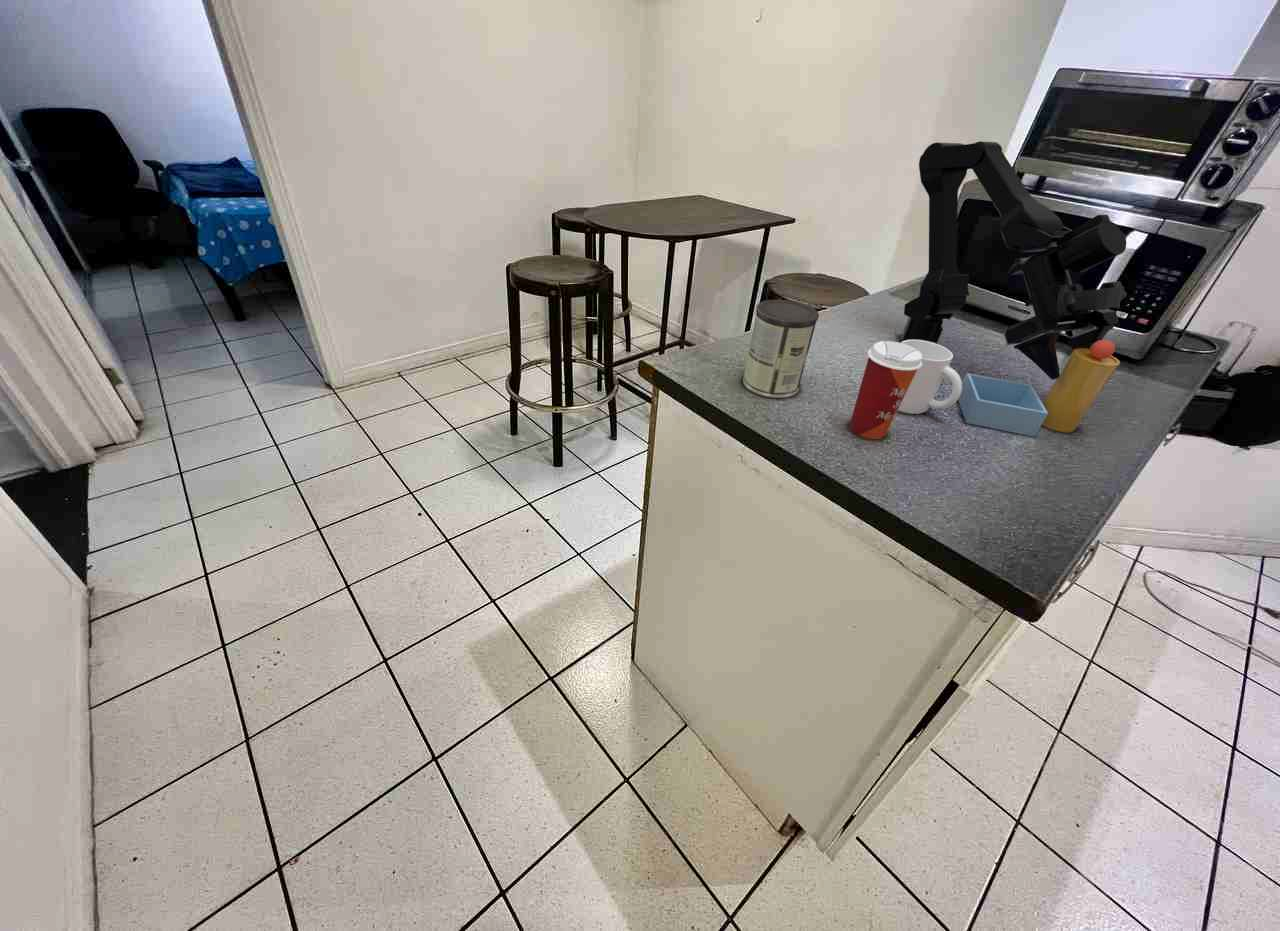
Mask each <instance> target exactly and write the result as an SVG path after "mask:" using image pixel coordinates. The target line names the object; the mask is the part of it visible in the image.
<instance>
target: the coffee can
mask: <svg viewBox="0 0 1280 931" xmlns="http://www.w3.org/2000/svg"><path fill="white" fill-rule="evenodd" d="M819 316H820V314H819V312H818V311H817V310H816V309H815V308H813V307H812V306H810V305H808V304H805V303H802V302H798V301H794V300H787V299H768V300H763V301H761V302H759V303H757V305H756V308H755V316H754V321H753V327H752V333H751V336H750V342H749V343H750V344H749V349H748V355H747V360H746V364H745V369H744V374H743V378H742V383H743V385H744V386H745V388H746V389H748V390H749V391H750V392H752V393H755V394H756V395H759V396H763V397H766V398H771V399H772V398H773V399H784V398H785V399H786V398H790V397H792V396H795V395H796V394H797V393H798V392H799V390H800V384H801V380H802V377H803V373H804V370H805V365H806V361H807V358H808V354H809V352H810V351H809V350H810V348H811V347H810V346H811V343H812V339H813V336H814V332H815V328H816V325H817V322H818V319H819Z"/></svg>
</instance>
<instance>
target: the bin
mask: <svg viewBox="0 0 1280 931" xmlns="http://www.w3.org/2000/svg"><path fill="white" fill-rule="evenodd" d="M957 401H958V404H959V406H960V410H961V413H962V415H963V418H964V421H965V424H970V425H974V426H978V427H985V428H990V429H995V430H999V431H1003V432H1004V431H1006V432H1010V433H1014V434H1015V433H1016V434H1018V435H1019V434H1020V435H1025V436H1029V437H1035V436H1036V434H1037V433H1038V431H1039V429H1040V428H1041V426H1043V425H1042V423H1043V421H1044V420H1045V418H1046V416H1047V415H1048V412H1047V410H1046V409H1045V407H1044V405H1043V404H1042V402H1043V401H1042V400H1041V398H1040V397H1039V395H1038V393H1037V392H1036V390H1035V388H1034V386H1033V385H1032V384H1028V383H1023V382H1018V381H1012V380H1007V379H1001V378H995V377H990V376H986V375H979V374H974V373H966V375H965V377H964V379H963V380H962V391H961V394H960V397H959V398H958V400H957Z"/></svg>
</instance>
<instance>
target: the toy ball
mask: <svg viewBox="0 0 1280 931" xmlns="http://www.w3.org/2000/svg"><path fill="white" fill-rule="evenodd" d="M1115 350H1116V345H1115V344H1114V342H1113V341H1111V340H1109V339H1103V340H1099V341H1097V342H1095V343H1094V344H1092V346H1091V347H1090V354H1091V356H1092V357H1094V358H1096V359H1105V358H1108V357H1110V356H1113V354H1114V352H1115Z"/></svg>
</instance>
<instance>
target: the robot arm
mask: <svg viewBox="0 0 1280 931" xmlns="http://www.w3.org/2000/svg"><path fill="white" fill-rule="evenodd" d="M968 170H972V171H973V173H974V175H975V176H976V178H977V180H978V181H979V183H980V184H981V186H982V187H983V189H984V191H985V192H986V194H987V195H988V197H989V199H990V200H991V202H992V203H993V206H994V207H995V208H996V210H997V212H998V213H999V217H1000V220H1001V221H1000V222H1001V223H1000V233H1001V235H1002V238H1003V240H1004V244H1005V246H1006V248H1007V249H1008V250H1009V251H1010V252H1013V253H1034V252H1035V254H1032V255H1030V256H1029V257H1027V258H1026V257H1017V258H1016V259H1015V261H1014V263H1013V264H1012V266H1011V267H1010V269H1009V271H1008V272H1007V274H1008V275H1009V276H1014V275H1015V276H1016V275H1023V279H1024V283H1025V286H1026V289H1027V292H1028V296H1029V298H1028V299H1026V300H1024V305H1025V307H1026V308H1027V307H1032V310H1033V314H1034V316H1031V317H1029V318H1027V319H1024V320H1021V321H1020V322H1018V323H1015V324H1012V325H1011V326H1008V327H1007V328H1006V331H1005V333H1004V339H1005V342H1006V346H1010V345H1011V346H1012V345H1014V346H1013V348H1014V350H1018V351H1019V352H1020V353H1022V354H1023V355H1024V356H1025V357H1027V358H1028V359H1029V360H1030V361H1031V362H1033V364H1035V365H1036V367H1038V368H1039V369H1040V370H1041V371H1043V373H1044V374H1045V375H1046V376H1047V377H1049V378H1050V379H1051V380H1056V379H1057V378H1059V377H1060V366H1059V360H1058V355H1057V349H1056V343H1057V341H1058V339H1059V337H1060V335H1061V333H1063V332H1064V334H1065V335H1066V336H1067V337H1068V338H1067V339H1066V342H1067V344H1068V345H1069V347H1070V348H1071V349H1072V351H1073V350H1074V349H1077V348H1086V349H1090V347H1091V346H1092V344H1094V343H1095V342H1097V341H1099V340H1104V338H1105V336H1106V335H1107V334H1108V333H1109V332H1110V331H1111V330H1113V329H1114V328H1115V325H1116V324H1118V323H1120V320H1119V316H1118V313H1117V311H1116V310H1113V309H1119V308H1120V306H1121V305H1120V304H1121V302H1122V301H1123V300H1124V299H1125V298H1126V297H1127V296H1128V293H1127V291H1125V286H1124V285H1123V284H1122V282H1121V281H1120V280H1119V281H1110V282H1102V283H1101V285H1100V287H1099V288H1096V289H1087V290H1084V288H1083V286H1082V285H1081V284H1080V283H1073V282H1072V279H1071V276H1070V272H1073V273H1076V274H1081V273H1083V272H1086V271H1087V270H1090V269H1093V267H1096V266H1098V265H1100V264H1102V263H1105V262H1107V261H1109V260H1111V259H1114V258H1115V257H1117V256H1119V255H1121V254H1123V253H1124V252H1125V251H1126V248H1127V237H1126V234H1125V232H1123V231H1122V230H1121V228H1120V227H1119V226H1118V225H1117V224H1116V223H1114V222H1113V221H1111V220H1110V217H1109V214H1097V215H1096V216H1094V217H1092V218H1090V219H1089V220H1088V221H1086V222H1085V223H1083V224H1081V225H1079V226H1078V227H1076V228H1074V229H1070V228H1068V227H1067V226H1064V223H1063V221H1062V219H1061V218H1060V217H1059V216H1058V215H1057V214H1056V213H1055V212H1054V211H1053V210H1051V209H1050V208H1049V207H1048V206H1046V205H1044V204H1042V203H1040V202H1039V201H1037V200H1036V199H1035V198H1033V197H1032V195H1031V193H1030V192H1029V191H1028V189H1027V187H1026V186H1025V185H1024V183H1023V182H1022V180H1021V178H1020V176H1018V174H1017V172H1016V170H1015V169H1014V167H1013V166H1012V165H1011V163H1010V162H1009V160H1008V159H1007V157H1006V156H1005V154H1004V152H1003V147H1002V145H1001V144H1000V143H999V142H997V141H984V140H983V141H981V140H979V141H976V142H974V143H968V144H964V143H961V142H938V141H937V142H933V143H930V144H929V145H928V146H927V147H926V149H924V151H923V153H922V154H921V155H920V157H919V161H918V171H919V178H920V183H921V185H922V187H923V189H924V190H925V192H926V194H927V195H928V271H927V273H926V275H925V277H924V279H923V281H922V282H921V285H920V288H919V294H918V295H919V296H917V297H915V298H913V299H912V300H911V301H908V302H906V303H905V304H904V308H903V309H904V310H903V315H904V316H906V317H907V320H906V323H905V326H904V328H903V331H902V333H900V334H899V340H900V343H901V342H903V341H905V340H924V341H929V342H932V343H936V344H938V342H939V340H940V337H941V335H942V332H943V331H944V328H943V326H942V325H943V323H944V320H951V318H952V317H953V316H954V315H955V314H956V313H958V312H959V311H961V309H963V306H965V305H966V302H967V297H968V296H970V291H969V282H970V277H969V274H966V273H965V274H961V272H960V270H959V269H958V263H957V262H958V261H957V260H958V214H959V212H958V211H959V210H958V208H959V207H958V206H959V201H958V200H959V189H960V188H961V186H962V184H963V182H964V180H965V178H966V176H967V173H968ZM1052 247H1055V248H1053V249H1051V250H1050V251H1048V250H1049V249H1050V248H1052ZM1069 271H1070V272H1069Z"/></svg>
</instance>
